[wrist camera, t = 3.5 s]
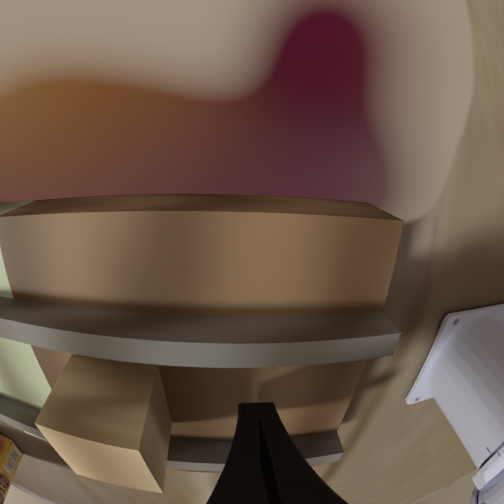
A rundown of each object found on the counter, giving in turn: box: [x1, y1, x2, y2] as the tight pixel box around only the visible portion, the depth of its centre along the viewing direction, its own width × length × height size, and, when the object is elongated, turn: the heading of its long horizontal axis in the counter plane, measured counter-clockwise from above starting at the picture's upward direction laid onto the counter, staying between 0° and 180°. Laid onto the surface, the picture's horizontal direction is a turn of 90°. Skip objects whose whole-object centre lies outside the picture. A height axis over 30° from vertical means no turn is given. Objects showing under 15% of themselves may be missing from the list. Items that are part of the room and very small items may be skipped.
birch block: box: [35, 355, 172, 493], centre depth 9 cm, size 4×4×4 cm
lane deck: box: [0, 194, 404, 473], centre depth 11 cm, size 32×16×4 cm, turn 87°
